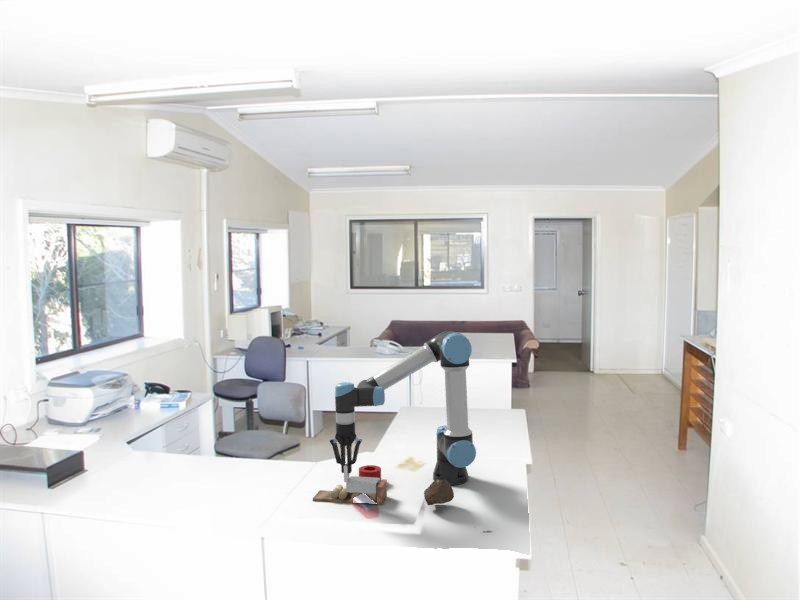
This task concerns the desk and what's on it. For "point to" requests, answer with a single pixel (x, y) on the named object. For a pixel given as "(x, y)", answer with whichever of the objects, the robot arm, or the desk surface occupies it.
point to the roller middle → (343, 493)
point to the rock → (438, 492)
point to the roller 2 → (355, 495)
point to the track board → (326, 497)
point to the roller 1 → (336, 491)
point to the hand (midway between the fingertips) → (346, 480)
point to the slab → (362, 484)
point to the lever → (370, 471)
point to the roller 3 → (373, 497)
